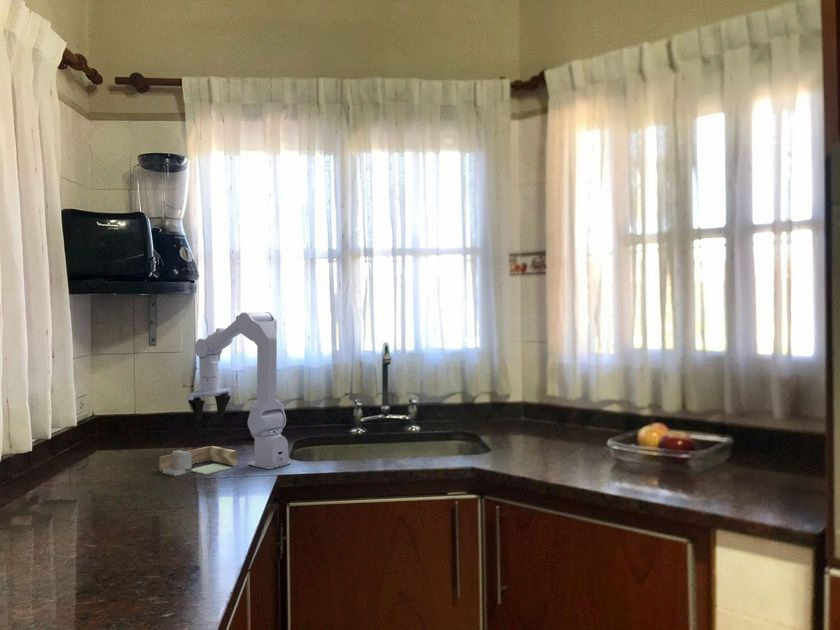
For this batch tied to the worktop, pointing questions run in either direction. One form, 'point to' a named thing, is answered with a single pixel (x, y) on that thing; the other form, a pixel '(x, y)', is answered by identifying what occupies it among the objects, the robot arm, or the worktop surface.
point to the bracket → (179, 463)
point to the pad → (210, 469)
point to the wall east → (196, 457)
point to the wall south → (223, 455)
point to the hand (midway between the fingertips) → (210, 419)
